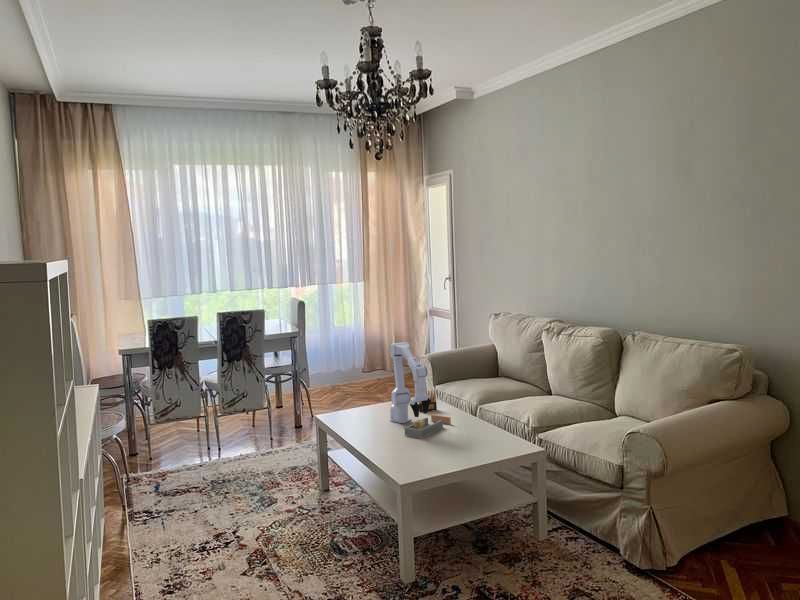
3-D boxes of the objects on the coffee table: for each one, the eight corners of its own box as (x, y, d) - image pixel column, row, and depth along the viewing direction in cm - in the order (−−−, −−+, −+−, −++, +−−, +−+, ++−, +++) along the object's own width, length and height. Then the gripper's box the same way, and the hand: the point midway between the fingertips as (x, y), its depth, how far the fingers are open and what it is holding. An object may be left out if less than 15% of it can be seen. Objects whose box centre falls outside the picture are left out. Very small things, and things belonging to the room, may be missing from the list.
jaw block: (414, 432, 319) (413, 421, 318) (418, 430, 322) (418, 419, 321) (420, 434, 316) (420, 422, 316) (424, 431, 320) (424, 420, 319)
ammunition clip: (435, 409, 363) (435, 389, 362) (436, 410, 362) (436, 390, 360) (418, 411, 360) (418, 391, 359) (419, 412, 359) (419, 392, 357)
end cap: (431, 421, 339) (431, 414, 339) (432, 420, 340) (432, 414, 340) (449, 424, 333) (449, 417, 332) (450, 423, 334) (450, 417, 333)
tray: (404, 435, 317) (404, 427, 317) (426, 424, 334) (426, 417, 334) (421, 438, 311) (421, 430, 311) (442, 427, 328) (442, 420, 328)
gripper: (417, 393, 310) (418, 419, 312) (434, 387, 321) (435, 412, 323) (406, 391, 315) (407, 417, 316) (424, 385, 326) (424, 410, 327)
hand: (421, 415), depth 320 cm, fingers open, 7 cm apart
